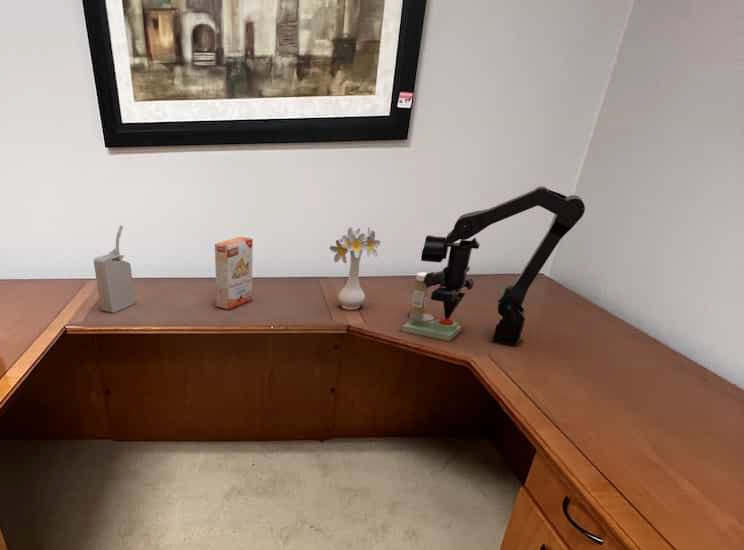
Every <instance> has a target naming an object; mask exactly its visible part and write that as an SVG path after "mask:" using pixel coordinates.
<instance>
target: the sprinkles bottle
mask: <svg viewBox="0 0 744 550" xmlns="http://www.w3.org/2000/svg"><path fill="white" fill-rule="evenodd" d="M427 273H428V272H423V271H421V272H417V273H416V275H415V284H414V289H413V295H412V302H411V309H410V314H409V316H410V315H411V314H415V313H424V314H425V311H426V310H425V309H426V305H427V299H428V293H429V287H428V288H426V284H425V283H423V281H424V277H425V276H426V274H427Z"/></svg>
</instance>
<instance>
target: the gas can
mask: <svg viewBox="0 0 744 550" xmlns="http://www.w3.org/2000/svg"><path fill="white" fill-rule="evenodd" d="M123 228H124V226H123V225H121V224H120V225H119V228H118V230H117V233H116V237H115V238H116V239H115V248H114V249H112V250H111V251H109V252H108V253H107V254H104V255H100V256H96V257H94V258H93V266H94V272H95V273H94V274H95V280H96V285H97V291H98V296H99V303H100V309H101V312H107V313H112V314H113V313H116V312H119V311H121V310H123V309H125V308H128V307H130V306H133V305H134V304H136V297H135V291H134V282H133V273H132V265H131V263H130V262H128V261H126V260H123V258H124V257H125V256H124V255H123V254H121V253H120V238H121V236H122V231H123Z"/></svg>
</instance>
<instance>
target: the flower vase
mask: <svg viewBox="0 0 744 550" xmlns="http://www.w3.org/2000/svg"><path fill="white" fill-rule="evenodd" d="M360 231H361V228H357V229H356V230H355V231H354V230H353V228H352V227H349V228H348V229H347V235H346V234H342V237H341V238H340V240H339V239H336V241H335V244H336V246H335V245H330V246H329V250H330V251H331V252H333V253H335V255H334V257H333V261H334V262H335V263H338V262H339V261H340V260H341V261H342V262H343V263H344V264H347V256H346V254H348V252H349V254H350V264H349V272H348V278H347V282H346V283H345V286H344V287H343V288H342V289H341V290H340V291H339V292H338V296H337V300H338V302H339V304H341V308H342V309H344V310H346V311H347V310H349V311H356V310H359V309H360V307H361V305H363V303H365V301H366V293H365V292H364V290H363V288H361V285H360V282H359V272H360V261H361V257H362V255H363V252H364V251H366V255H367V257H370V256H371V254H372V255H373V257H374V258H377V257H378V252H377V249H378V247H380V245H381V241H380V239H376V232H375V231H374V230H373V229H371V228H370V227H369V226H367V234H366V233H365V232H362V233H360Z"/></svg>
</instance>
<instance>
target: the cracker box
mask: <svg viewBox="0 0 744 550" xmlns="http://www.w3.org/2000/svg"><path fill="white" fill-rule="evenodd" d="M253 241H254V239H253V238H250V237H244V236H238V237H234V238H231V239H227V240H224V241H220V242H216V243H214V261H215V264H214V265H215V298H216V307H217V308H220V309H224V310H231V309H233V308H236V307H238V306H241V305H243V304H247V303H248V302H252V301H253V246H254V245H253V243H254V242H253Z"/></svg>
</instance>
